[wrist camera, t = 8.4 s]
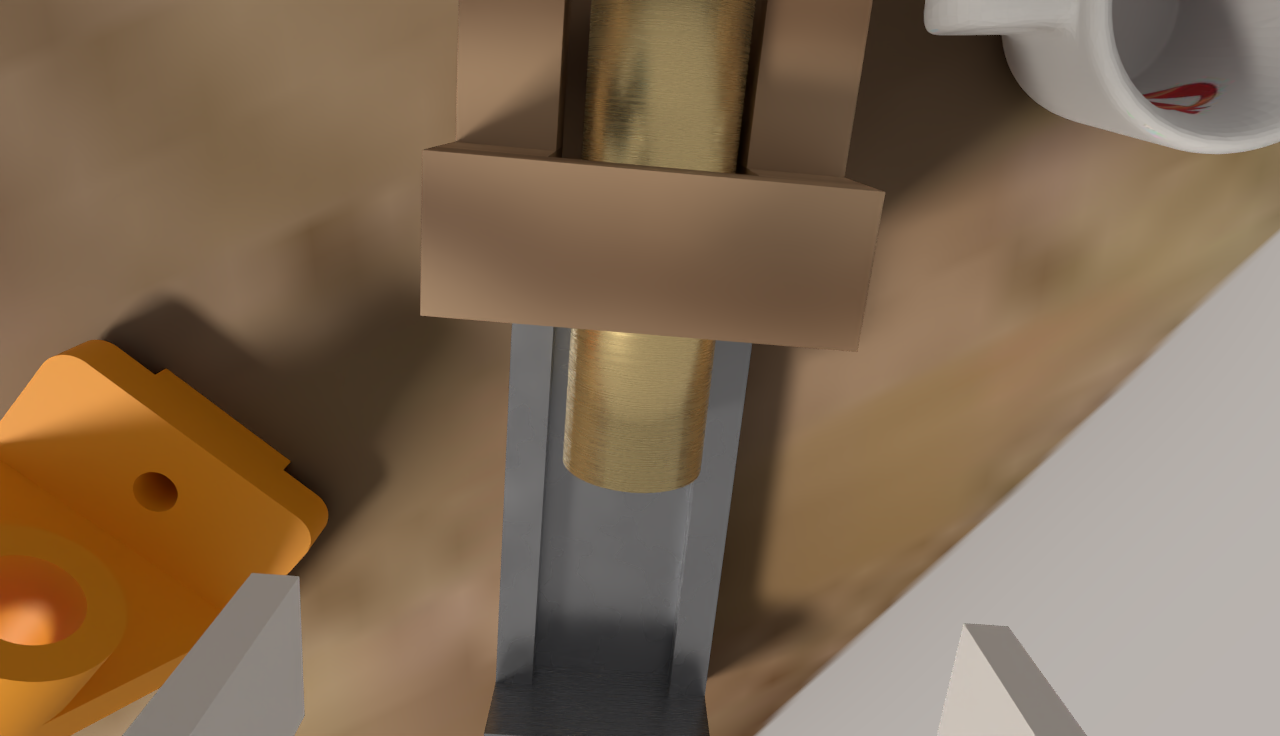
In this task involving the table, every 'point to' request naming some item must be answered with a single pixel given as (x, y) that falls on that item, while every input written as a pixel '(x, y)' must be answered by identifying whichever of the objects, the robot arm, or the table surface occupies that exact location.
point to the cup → (1140, 64)
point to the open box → (651, 191)
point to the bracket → (126, 533)
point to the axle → (663, 137)
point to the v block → (606, 567)
